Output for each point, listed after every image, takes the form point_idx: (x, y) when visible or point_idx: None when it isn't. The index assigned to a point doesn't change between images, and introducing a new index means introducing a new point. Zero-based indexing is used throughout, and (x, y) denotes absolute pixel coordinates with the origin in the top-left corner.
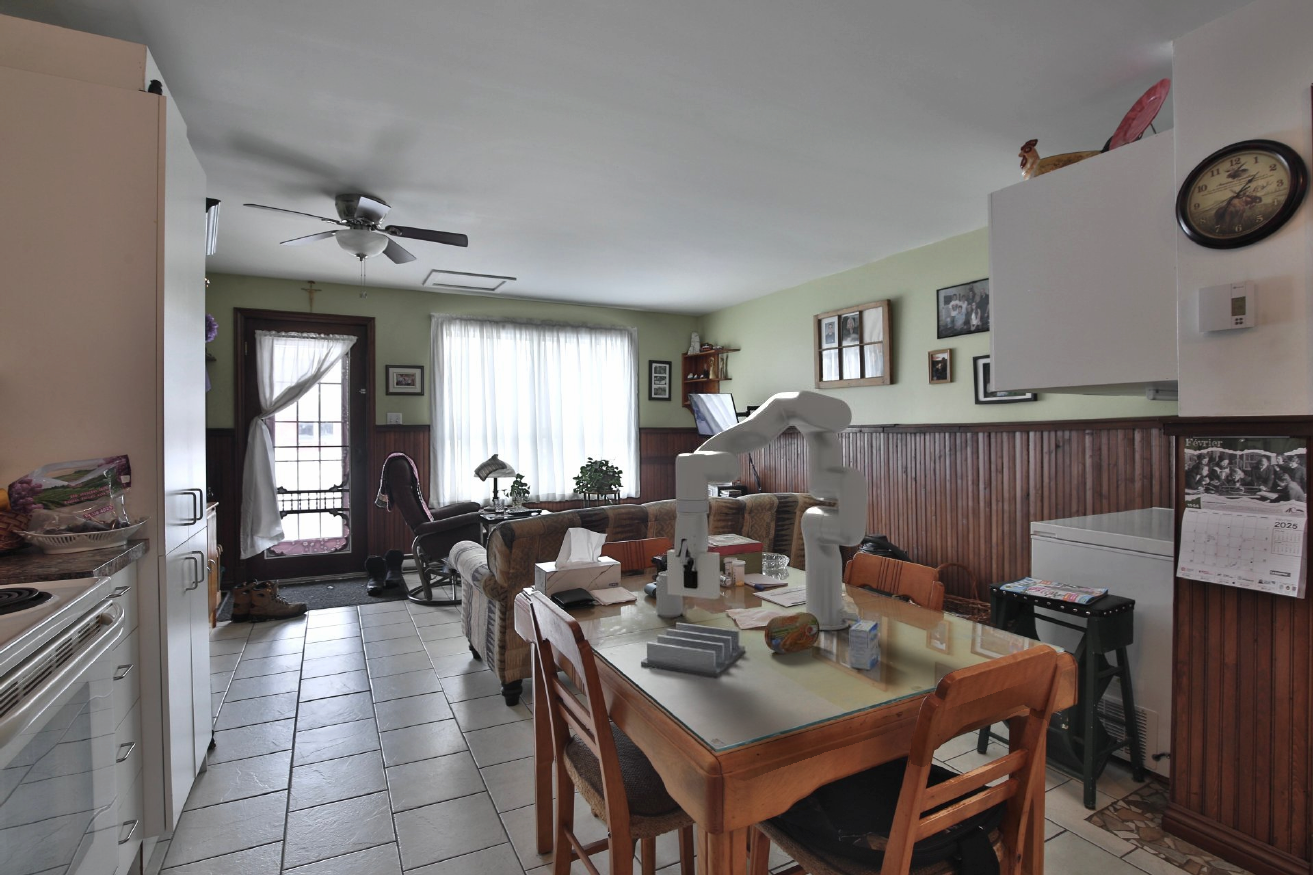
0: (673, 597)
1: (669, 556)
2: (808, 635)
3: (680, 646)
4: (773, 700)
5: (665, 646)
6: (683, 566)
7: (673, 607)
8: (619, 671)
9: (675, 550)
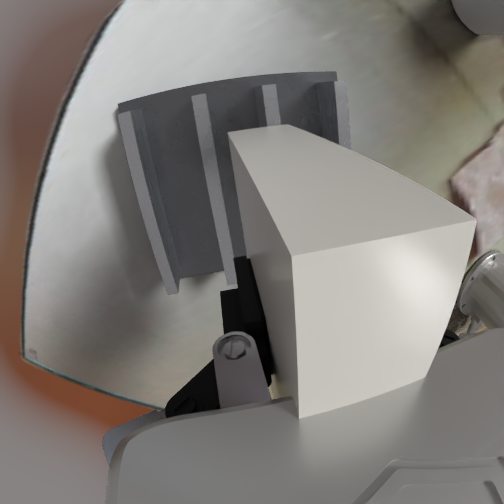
0: (490, 17)
1: (274, 249)
2: None
3: (153, 208)
4: (155, 365)
5: (131, 172)
6: (183, 387)
7: (472, 18)
8: (70, 89)
9: (109, 495)
